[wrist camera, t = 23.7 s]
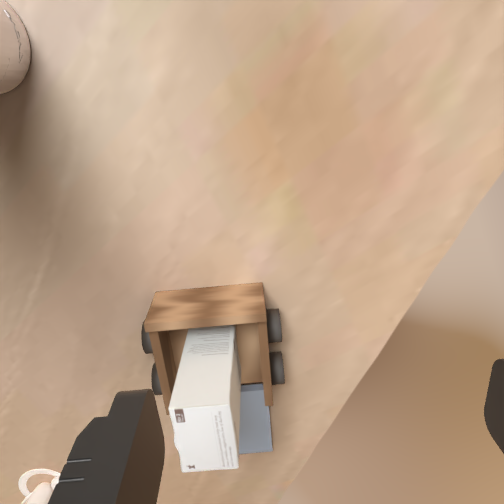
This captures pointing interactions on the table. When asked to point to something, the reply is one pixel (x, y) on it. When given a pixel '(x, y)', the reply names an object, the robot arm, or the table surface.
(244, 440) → the tailgate
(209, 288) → the wooden toy cart
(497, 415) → the robot arm
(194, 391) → the skincare box
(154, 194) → the table surface
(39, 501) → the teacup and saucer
